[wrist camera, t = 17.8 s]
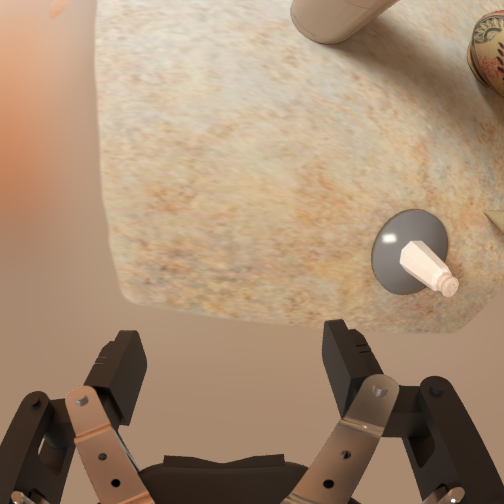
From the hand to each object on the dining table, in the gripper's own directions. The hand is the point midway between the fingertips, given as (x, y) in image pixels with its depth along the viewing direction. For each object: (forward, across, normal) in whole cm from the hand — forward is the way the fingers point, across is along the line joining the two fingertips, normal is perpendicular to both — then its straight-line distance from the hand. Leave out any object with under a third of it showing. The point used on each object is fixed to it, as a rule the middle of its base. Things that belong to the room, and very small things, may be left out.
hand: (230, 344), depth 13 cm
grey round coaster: (+30, -27, +10) cm, 41 cm away
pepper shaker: (+29, -26, +10) cm, 40 cm away
